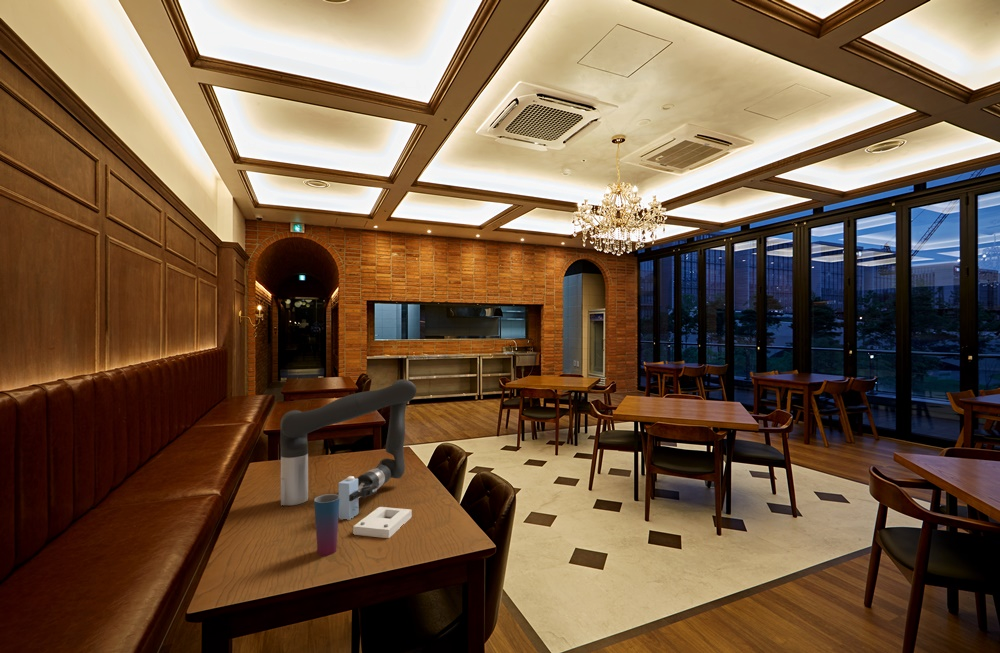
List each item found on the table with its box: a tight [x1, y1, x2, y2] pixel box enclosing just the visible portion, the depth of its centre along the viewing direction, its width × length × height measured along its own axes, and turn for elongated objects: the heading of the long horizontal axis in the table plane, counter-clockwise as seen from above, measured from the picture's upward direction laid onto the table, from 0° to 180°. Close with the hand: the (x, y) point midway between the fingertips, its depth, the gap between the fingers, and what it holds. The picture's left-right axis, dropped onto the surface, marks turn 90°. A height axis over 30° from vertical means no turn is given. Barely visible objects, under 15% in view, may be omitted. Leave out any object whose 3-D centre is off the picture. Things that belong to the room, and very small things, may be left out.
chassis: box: [352, 506, 413, 539], centre depth 144 cm, size 16×12×3 cm
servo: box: [338, 475, 360, 521], centre depth 152 cm, size 6×7×13 cm
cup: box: [313, 493, 340, 556], centre depth 127 cm, size 7×7×15 cm
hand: (344, 497), depth 149 cm, fingers closed on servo, 4 cm apart
